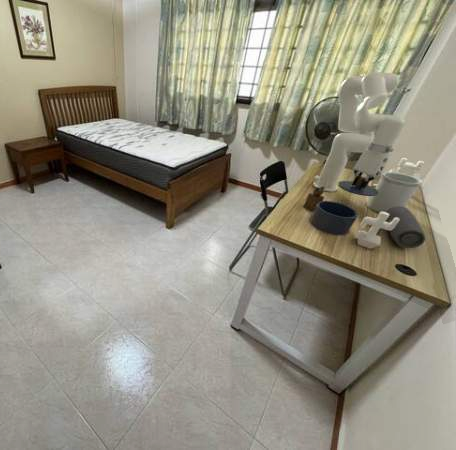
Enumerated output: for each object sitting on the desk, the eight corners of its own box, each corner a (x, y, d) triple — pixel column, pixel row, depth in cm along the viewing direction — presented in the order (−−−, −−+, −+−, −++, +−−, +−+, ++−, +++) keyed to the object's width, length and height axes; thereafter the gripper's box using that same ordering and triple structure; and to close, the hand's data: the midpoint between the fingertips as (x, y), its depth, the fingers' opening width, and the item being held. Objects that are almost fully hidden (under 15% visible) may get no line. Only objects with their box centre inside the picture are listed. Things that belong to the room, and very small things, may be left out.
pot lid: (329, 184, 121) (334, 172, 118) (354, 182, 125) (360, 170, 121) (359, 198, 108) (366, 186, 105) (386, 195, 112) (393, 183, 108)
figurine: (351, 235, 104) (370, 205, 95) (379, 244, 99) (401, 213, 90) (350, 243, 99) (369, 212, 91) (378, 253, 94) (401, 221, 86)
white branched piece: (412, 192, 143) (435, 160, 132) (413, 200, 134) (437, 166, 123) (373, 183, 153) (391, 152, 142) (371, 190, 144) (390, 157, 133)
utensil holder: (362, 208, 125) (381, 176, 115) (366, 199, 134) (384, 169, 124) (399, 219, 117) (423, 186, 107) (400, 208, 126) (422, 177, 116)
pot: (302, 218, 115) (309, 202, 110) (328, 214, 118) (336, 199, 113) (329, 236, 102) (338, 220, 98) (356, 232, 106) (366, 216, 101)
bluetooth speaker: (377, 220, 115) (389, 202, 109) (402, 226, 111) (416, 208, 106) (387, 245, 98) (401, 225, 93) (416, 253, 95) (433, 233, 89)
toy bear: (303, 206, 125) (312, 185, 118) (310, 205, 126) (320, 184, 119) (310, 211, 121) (320, 189, 114) (318, 210, 122) (328, 188, 115)
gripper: (405, 153, 100) (381, 193, 110) (367, 143, 113) (349, 179, 123) (392, 154, 98) (368, 194, 108) (355, 143, 111) (337, 180, 121)
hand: (358, 186), depth 115 cm, fingers closed on pot lid, 3 cm apart
